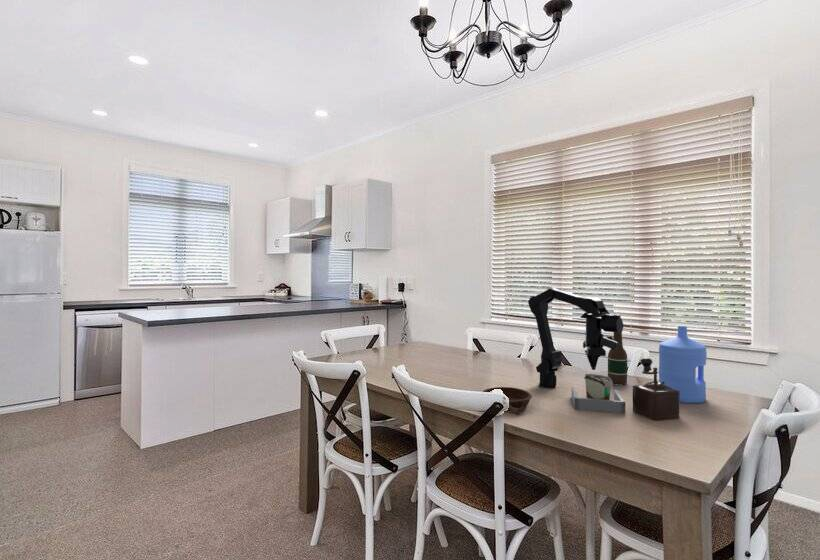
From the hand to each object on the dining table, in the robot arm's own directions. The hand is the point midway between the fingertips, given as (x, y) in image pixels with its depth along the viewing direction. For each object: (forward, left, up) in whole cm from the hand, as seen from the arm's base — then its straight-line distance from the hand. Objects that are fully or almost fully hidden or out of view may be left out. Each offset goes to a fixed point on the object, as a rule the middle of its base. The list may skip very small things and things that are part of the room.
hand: (593, 369), depth 164 cm
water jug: (+33, +9, -11) cm, 36 cm away
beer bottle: (+13, +26, -11) cm, 31 cm away
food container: (+2, -8, -11) cm, 14 cm away
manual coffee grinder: (+17, -13, -11) cm, 24 cm away
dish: (-32, -20, -11) cm, 40 cm away
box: (0, -9, -11) cm, 14 cm away
